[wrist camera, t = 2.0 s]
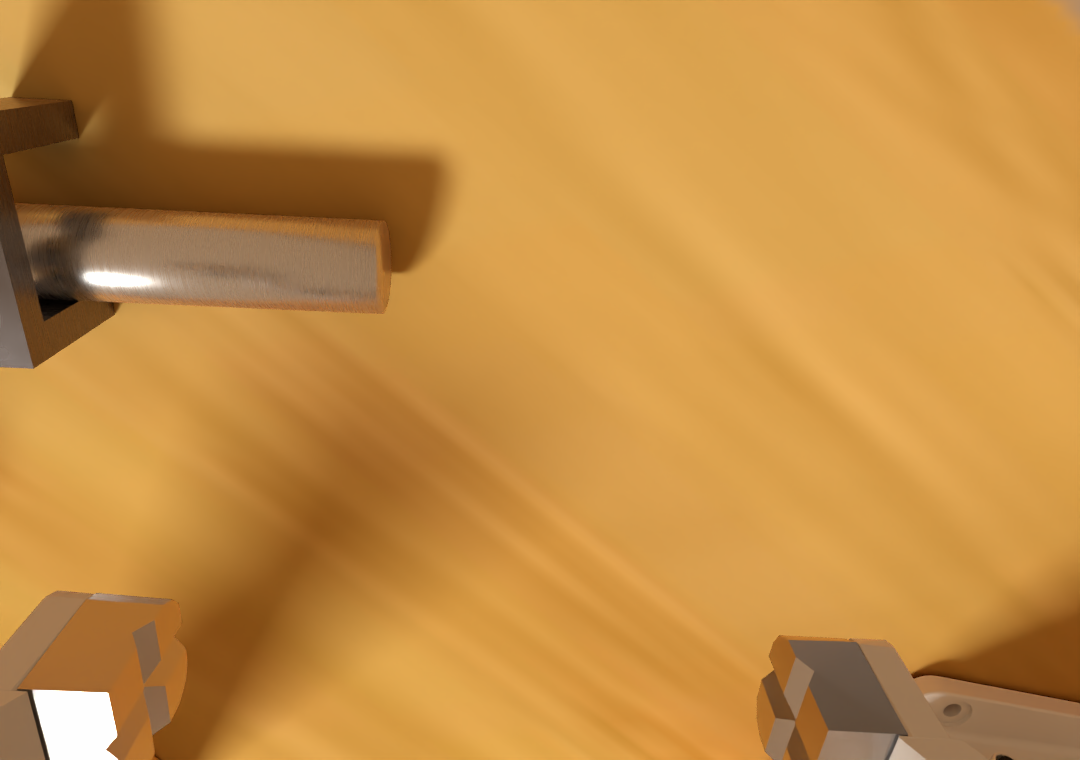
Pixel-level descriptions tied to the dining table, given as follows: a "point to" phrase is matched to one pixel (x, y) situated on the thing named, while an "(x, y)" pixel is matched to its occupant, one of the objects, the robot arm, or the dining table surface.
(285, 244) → the tube
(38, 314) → the collar
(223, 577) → the dining table surface
